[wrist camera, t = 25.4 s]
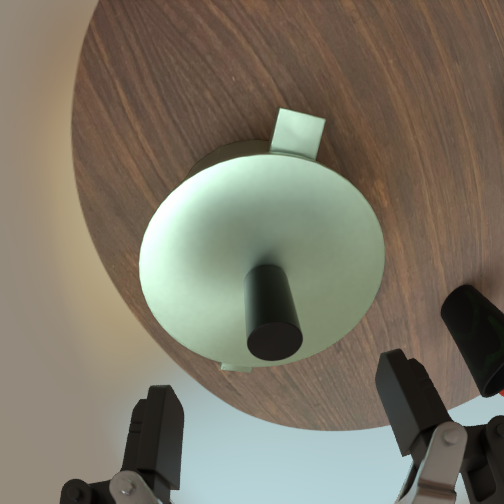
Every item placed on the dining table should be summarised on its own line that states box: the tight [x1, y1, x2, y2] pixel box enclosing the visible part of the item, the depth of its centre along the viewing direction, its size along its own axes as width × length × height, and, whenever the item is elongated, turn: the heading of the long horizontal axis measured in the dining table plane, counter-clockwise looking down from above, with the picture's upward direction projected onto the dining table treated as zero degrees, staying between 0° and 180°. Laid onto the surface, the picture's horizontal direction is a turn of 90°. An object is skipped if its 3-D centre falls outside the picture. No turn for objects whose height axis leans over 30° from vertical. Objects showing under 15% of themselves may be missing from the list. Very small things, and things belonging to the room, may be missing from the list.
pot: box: [186, 107, 326, 373], centre depth 21 cm, size 13×18×8 cm
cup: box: [441, 285, 504, 398], centre depth 26 cm, size 8×8×12 cm
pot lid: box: [139, 152, 385, 367], centre depth 15 cm, size 14×14×6 cm
